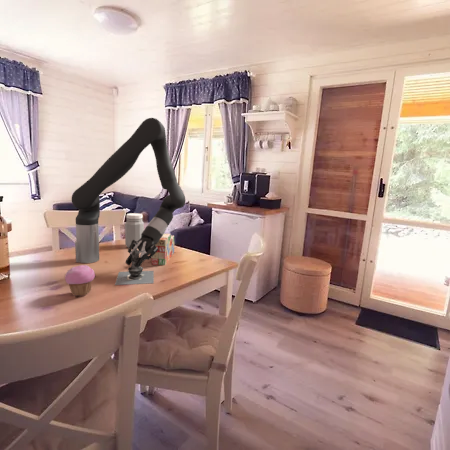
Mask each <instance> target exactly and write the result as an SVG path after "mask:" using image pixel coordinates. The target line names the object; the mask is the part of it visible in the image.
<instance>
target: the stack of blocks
mask: <svg viewBox="0 0 450 450" xmlns="http://www.w3.org/2000/svg"><path fill="white" fill-rule="evenodd" d="M155 246H156V247H157V248H158V249H159V250H158V251H157V252H156V253H155V254H154V255H153V256H152V257H151V265H153V266H154V265H155V266H156V265H157V266H166V265H167V264H168V262H169V260H170V259H171V257H172V256H173V255H174V253H175V235H172V233H164V234H163V236H162V237H161V239H160V240H159V242H158V243H157V244H156V245H155Z"/></svg>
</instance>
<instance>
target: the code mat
mask: <svg viewBox="0 0 450 450" xmlns="http://www.w3.org/2000/svg"><path fill="white" fill-rule="evenodd" d="M130 275H131V274H130V273H129V271H119V272H118V275H117V277H116V281H115V283H114V285H115V286H123V285H125V286H126V285H147V284H152V285H153V284H155V281H154V280H155V279H154V277H155V276H154V275H155V273H154V270H142V273H141V274H140V275H142V278H140V279H135V280H134V279H129V276H130Z"/></svg>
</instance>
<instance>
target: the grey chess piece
mask: <svg viewBox="0 0 450 450" xmlns="http://www.w3.org/2000/svg"><path fill="white" fill-rule="evenodd" d="M131 251H132V250H131ZM139 257H140V254H139V251H138V249H137V250H136V248H135V250H134V251H132V259H131V260H132V262H131V264H130V266H129V267H128V268H127V270H128V272H129V273H130V274H131V275H130V276H129V279H134V280H135V279H140V278H142V275H140V274H141V273H142V271H144V267H142V265H140V266H139V268H136V267H135V266H134V264H135V262H136V261H137V259H138V258H139Z"/></svg>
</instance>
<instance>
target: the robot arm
mask: <svg viewBox="0 0 450 450" xmlns="http://www.w3.org/2000/svg"><path fill="white" fill-rule="evenodd" d="M166 134H167V133H166V128H165V126H164V124H163V123H162V122H161V121H160V120H159V119H158V118H155V117H149V118H145V120H143V121H142V122H141V123H140V124H139V126H138V127H137V129H136V130H135V131H134V132H133V134H132V135H131V136H130V137H129V138H128V139H127V140H126V141H125V142H124V143H123V144H122V145H121V146H120V147H119V148H117V150H116V151H114V152H113V154H111V156H110V157H108V158H107V159H106V161H104V163H103V164H102V165H101V166H100V167H99V168H98V169H97V171H96V172H95V173H93V174H92V176H91V177H90V178H89V179H88V180H87V181H85V182H84V183H83V184H81V186H79V187H77V188H76V189H75V190H74V191H73V193H72V195H71V203H72V206H74V207H75V208H76V209H78V211H77V212H78V213H77V215H76V216H75V237H76V240H75V241H74V245H75V247H74V248H75V263H80V264H90V263H91V264H92V263H96V262H99V260H100V238H99V237H100V236H99V235H100V233H99V231H100V230H99V228H100V227H99V219H100V213H101V209H100V208H101V207H100V206H101V199H100V195H101V194H102V193H103V192H105V190H106V189H107V188H109V187H111V186H113V184H115V183H116V182H118V181H120V179H122V178H123V177H124V176H125V175H126V174H127V173H128V172H129V171H131V169H132V168H133V167H134V165H135V163H136V162H137V161H138V158H139V157H140V155H141V153H142V152H143V151H144V150H146V148H147V147H149V146H150V145H151V148H152V151H153V153H154V157H155V163H156V171H157V175H158V178H159V181H160V185H161V187H162V188H163V190H167V192H168V195H167V196H165V197H164V198H163V200H162V201H161V204H160V206H159V209H158V211H157V212H156V213H155V215H154V216H153V217H152V219H151V220H150V221H149V222H148V224H147V225H146V227H144V231H143V232H142V234H141V238H140V239H139V240H138V241H135V240H133V241H132V243H131V245H130V247H129V248H128V250H127V252H128V253H129V255H128V256H127V258H126V260H125V264H126V265H128V266H131V265H132V260H131V259H132V251H134V250H135V248H136V250H138V251H139V258H138V259H137V261H136V262H135V264H134V266H135V267H136V268H139V266H142V263H143V262H144V261H146V260H147V261H149V260H150V259H152V256H153V255H154V254H155V253H156V252H157V251H158V250H159V249H158V248H157V247H156V246H155V245H156V244H157V243H158V242H159V240H160V239H161V237H162V236H163V234H166V233H165V232H166V231H167V228H168V227H169V225H170V224H171V222H172V220H173V218H174V211H175V210H178V209H181V208H183V207H184V206H185V204H186V196H185V193H184V191H183V190H182V188H181V186H180V184H179V183H178V180H177V177H176V173H175V170H174V166H173V163H172V160H171V157H170V156H171V155H170V153H169V148H168V143H167V136H166Z"/></svg>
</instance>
